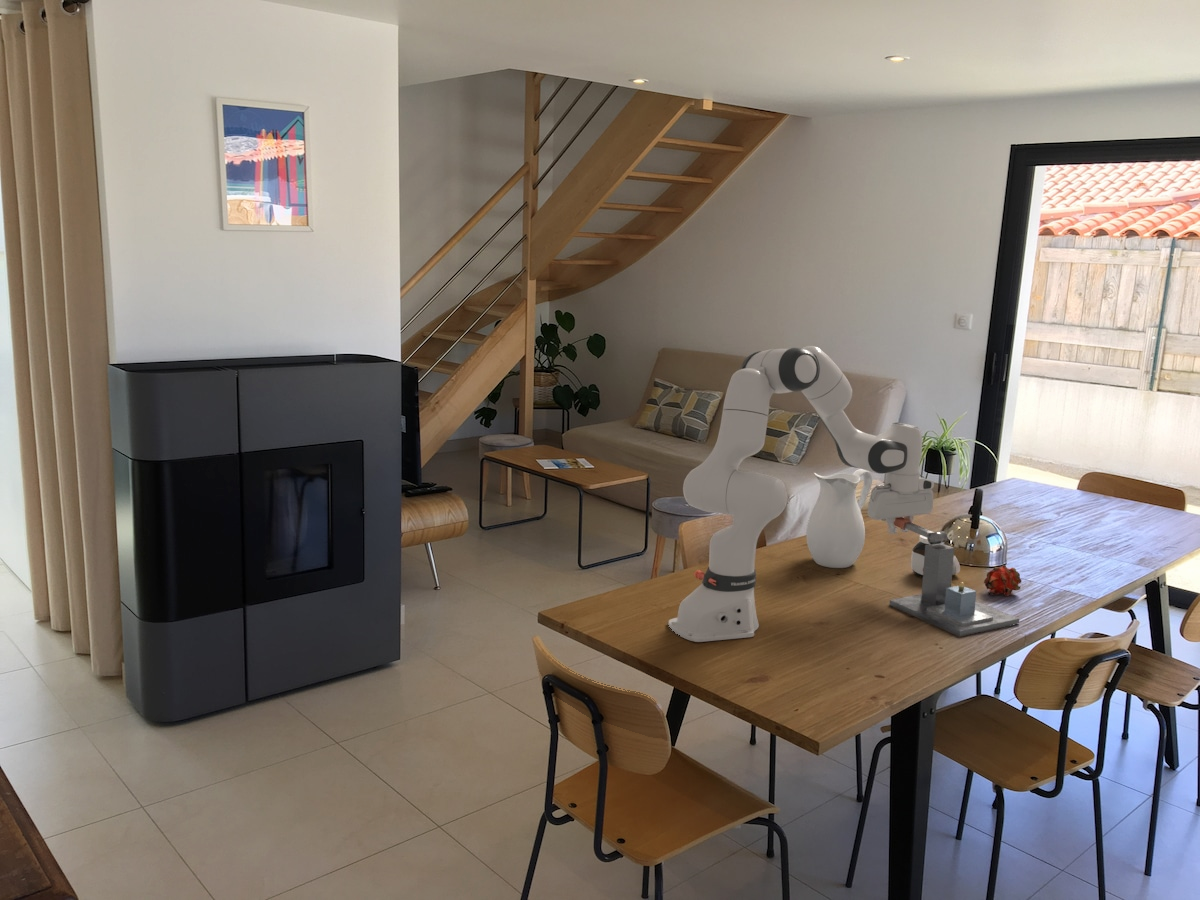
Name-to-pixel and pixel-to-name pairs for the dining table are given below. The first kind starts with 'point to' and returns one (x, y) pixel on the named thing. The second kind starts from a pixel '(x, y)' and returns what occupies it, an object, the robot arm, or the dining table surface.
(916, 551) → the spread jar
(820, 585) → the dining table surface
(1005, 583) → the dragon fruit
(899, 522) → the lever
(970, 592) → the block
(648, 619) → the dining table surface
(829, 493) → the pitcher
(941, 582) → the stand
